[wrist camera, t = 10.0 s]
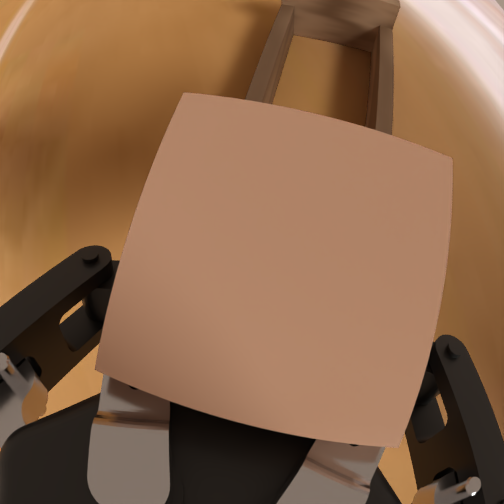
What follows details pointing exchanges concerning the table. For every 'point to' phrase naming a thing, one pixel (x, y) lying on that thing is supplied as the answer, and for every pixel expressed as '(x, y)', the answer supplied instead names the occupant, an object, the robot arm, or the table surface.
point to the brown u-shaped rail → (341, 32)
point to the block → (283, 272)
